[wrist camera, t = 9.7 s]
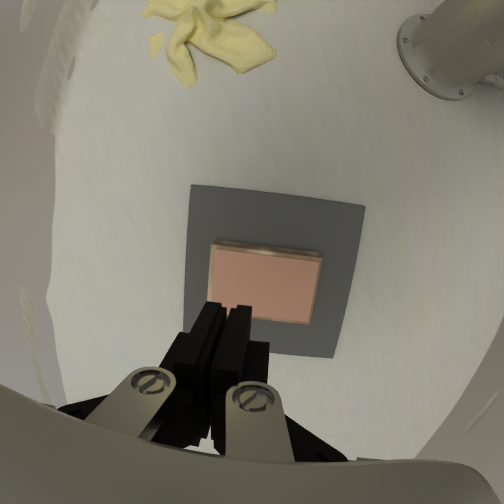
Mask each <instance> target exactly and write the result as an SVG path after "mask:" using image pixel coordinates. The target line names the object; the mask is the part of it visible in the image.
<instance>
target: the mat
mask: <svg viewBox="0 0 504 504" xmlns="http://www.w3.org/2000/svg"><path fill="white" fill-rule="evenodd" d="M364 212H365V206H359V205H353V204H347V203H341V202H334V201H328V200H321V199H314V198H307V197H299V196H292V195H284V194H276V193H268V192H259V191H251V190H241V189H232V188H222V187H211V186H200V185H191V190H190V202H189V215H188V229H187V245H186V263H185V287H184V322H183V332H186V333H189V332H190V330H191V328H192V327H193V325H194V323H195V321H196V319H197V317H198V315H199V314H200V312H201V310H202V308H203V306H204V304H205V303H206V301H207V294H208V279H209V265H210V251H211V244H212V243H213V242H214V241H215V240H222V241H231V242H239V243H247V244H255V245H263V246H271V247H279V248H287V249H295V250H303V251H311V252H319V253H320V255H321V257H322V263H321V268H320V274H319V280H318V285H317V290H316V296H315V301H314V306H313V311H312V316H311V321H310V325H308V324H299V323H289V322H280V321H272V320H263V319H255V318H252V319H251V332H250V340H252V341H263V342H270V348H269V353H278V354H288V355H298V356H309V357H322V358H333V356H334V353H335V349H336V345H337V341H338V338H339V334H340V330H341V326H342V322H343V318H344V314H345V310H346V305H347V301H348V297H349V292H350V287H351V283H352V278H353V273H354V268H355V263H356V258H357V253H358V248H359V242H360V237H361V231H362V225H363V219H364ZM227 318H228V315H227Z"/></svg>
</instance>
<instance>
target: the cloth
mask: <svg viewBox="0 0 504 504" xmlns="http://www.w3.org/2000/svg"><path fill="white" fill-rule="evenodd" d="M250 9H263V10H265V11H267V12H269V13H275V12H276V11H277V10H278V6H277V2H276V0H149V1H148V2H147V4H146V6H145V9H144V10H143V12H142V16H143V17H144V18H146V17H150V16H159V17H162V18H165V19H167V20H169V21H173V22H178V23H177V24H176V26H175V28H174V30H173V32H172V34H171V36H170V38H169V40H168V43H167V46H166V49H165V50H166V56H167V61H168V63H169V64H170V65H171V69H172V73H173V74H174V75H175V76H176V77H177V78H178V80H179V81H180V82H181V83H182V84H184V85H185V86H186V87H190V86H192V85H195V84H196V82H197V78H198V77H197V70H196V68H195V66H194V64H193V62H192V59H191V56H190V54H189V51H188V49H187V47H186V46H185V44H184V42H188V43H191V44H193V45H194V46H196V47H197V48H199V49H200V50H202V51H203V52H204V53H206V54H209V55H211V56H214V57H217V58H219V59H221V60H223V61H225V62H226V63H228V64H229V65H230V66H231V67H232V69H233V70H234V72H236V73H237V74H243V73H245V72H247V71H249V70H251V69H253V68H255V67H258V66H260V65H262V64H264V63H266V62H268V61H269V60H271V59H273V58H274V57H275V56H276V55H277V53H276V49H274V48H273V47H272V46H270V45H269V44H268V43H267V42H266V41H265V40H264V39H263V37H262V36H261V35H260V34H259V33H258V32H256V31H255V30H254V29H253V28H251V27H250V26H247V25H243V24H241V23H238V22H236V21H231V22H224V20H225V18H226V17H229V16H234V15H238V14H241V13H243V12H246V11H248V10H250ZM163 39H164V34H163V33H162V32H158V33H155V34H152V35H151V36H150V44H149V53H150V55H151V56H152V58H153V59H154V57H155V56H156V54H157V52H158V51H159V49H160V48H161V45H162V41H163Z"/></svg>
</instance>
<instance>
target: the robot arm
mask: <svg viewBox="0 0 504 504" xmlns="http://www.w3.org/2000/svg"><path fill="white" fill-rule="evenodd" d="M398 49H399V53H400V56H401V58H402V61H403V63H404V65H405V66H406V68H407V70H408V71H409V73H410V74H411V75H412V77H413V78H414V79H415V80H416V81H417V82H418V83H419V84H420V85H421V86H422V87H423V88H425V89H426V90H427V91H429V92H430V93H432V94H433V95H436V96H438V97H440V98H443V99H447V100H459V99H463V98H465V97H468V96H469V95H470V94H472V93H473V91H474V90H475V89H476V86H477V84H478V82H482V83H487V82H488V83H490V84H491V85H492V86H494V87H496V88H498V89H500V90H503V89H504V78H503V77H501V76H499V75H497V74H495V73H496V72H499V71H502V70H504V0H445V1H444V2H443V3H442V4H441V5H440V6H439V7H438V8H436V9H435V10H434V11H433V12H432V13H431V14H430V15H426V14H421V15H415V16H412V17H410V18H409V19H407V20H406V21H405V22H404V23H403V25H402V26H401V28H400V30H399V33H398ZM251 319H252V306H248V305H238V304H237V307H236V308H231V309H230V312H229V315H228V318H227V307H222V303H219V302H210V301H206V303H205V304H204V306H203V308H202V310H201V312H200V314H199V315H198V317H197V319H196V321H195V323H194V325H193V327H192V328H191V330H190V332H189V333H186V332H179V333H178V335H177V337H176V338H175V340H174V342H173V343H172V345H171V347H170V348H169V350H168V352H167V354H166V355H165V357H164V359H163V360H162V362H161V364H160V365H159V367H143V368H139V369H137V370H134V371H133V372H132V373H130V374H129V375H128V376H127V377H126V378H125V379H124V380H123V381H122V382H121V383H120V384H119V385H118V386H117V387H116V388H115V389H114V390H113V391H112V392H111V393H110V394H109V395H105V396H101V397H97V398H93V399H89V400H85V401H81V402H77V403H73V404H69V405H65V406H62V407H60V408H58V409H56V407H55V406H53V405H48V404H43V403H39V402H37V401H35V400H33V399H31V398H28V397H26V396H24V395H22V394H20V393H18V392H16V391H13V390H11V389H9V388H7V387H5V386H3V385H0V504H501V502H500V500H499V498H498V497H497V495H496V493H495V492H494V490H493V489H492V487H491V486H490V484H489V483H488V481H487V480H486V479H485V478H484V477H483V476H482V475H481V474H480V473H479V472H478V471H477V470H475V469H473V468H471V467H469V466H466V465H463V464H460V463H455V462H448V461H441V460H427V459H395V460H380V459H369V458H360V457H357V459H356V461H354V460H347V458H346V457H345V456H344V455H343V454H342V453H341V452H339V451H338V450H336V449H335V448H333V447H332V446H330V445H329V444H327V443H326V442H324V441H323V440H321V439H320V438H318V437H317V436H315V435H314V434H312V433H311V432H309V431H308V430H306V429H305V428H303V427H302V426H301V425H299V424H298V423H296V422H295V421H293V420H292V419H291V418H289V417H288V416H286V415H285V414H284V410H283V406H282V401H281V397H280V395H279V393H278V391H277V390H276V389H274V388H273V387H272V386H270V385H268V384H267V379H268V364H269V348H270V342H263V341H252V340H250V332H251ZM210 425H211V440H214V448H215V449H216V450H217V451H218V452H219V454H220V455H217V454H210V453H204V452H198V451H193V450H188V449H183V448H185V447H188V446H190V445H192V446H197V447H199V443H200V440H201V438H204V439H207V436H208V433H209V429H210Z"/></svg>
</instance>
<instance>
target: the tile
mask: <svg viewBox="0 0 504 504" xmlns="http://www.w3.org/2000/svg"><path fill="white" fill-rule="evenodd" d="M321 263H322V257H321V255H320V253H319V252H311V251H303V250H295V249H287V248H279V247H271V246H263V245H255V244H247V243H239V242H231V241H222V240H215V241H214V242H213V243H212V244H211V251H210V265H209V279H208V294H207V301H210V302H219V303H222V307H227V315H229V312H230V309H231V308H236V307H237V304H238V305H248V306H252V318H255V319H263V320H272V321H280V322H289V323H299V324H308V325H310V321H311V316H312V311H313V306H314V301H315V296H316V290H317V285H318V280H319V274H320V268H321Z"/></svg>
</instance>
